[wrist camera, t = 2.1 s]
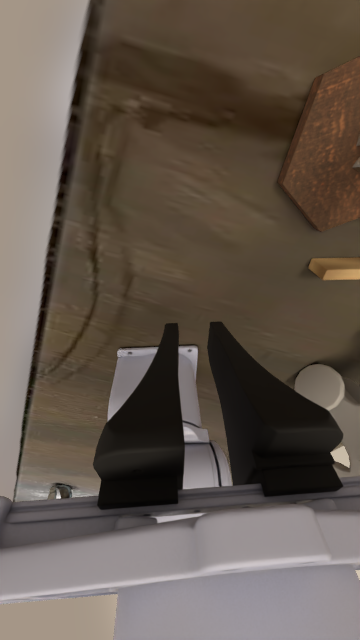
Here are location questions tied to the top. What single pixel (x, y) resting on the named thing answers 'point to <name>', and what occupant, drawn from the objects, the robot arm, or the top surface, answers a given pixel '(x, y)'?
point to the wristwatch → (64, 492)
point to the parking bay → (336, 268)
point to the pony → (336, 408)
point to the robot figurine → (327, 150)
